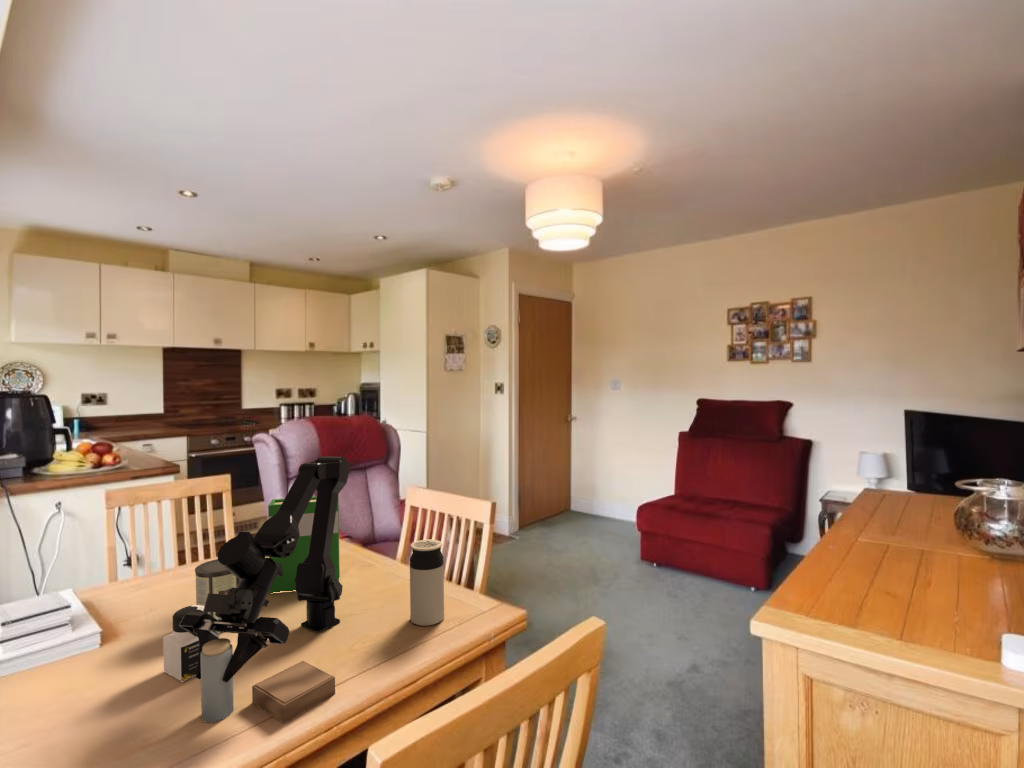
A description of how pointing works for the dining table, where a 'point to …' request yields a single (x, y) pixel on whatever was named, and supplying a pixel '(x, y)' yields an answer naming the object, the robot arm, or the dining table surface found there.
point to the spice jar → (216, 680)
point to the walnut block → (293, 691)
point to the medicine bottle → (181, 647)
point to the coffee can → (213, 582)
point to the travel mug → (426, 582)
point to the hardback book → (302, 546)
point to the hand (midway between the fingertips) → (211, 680)
